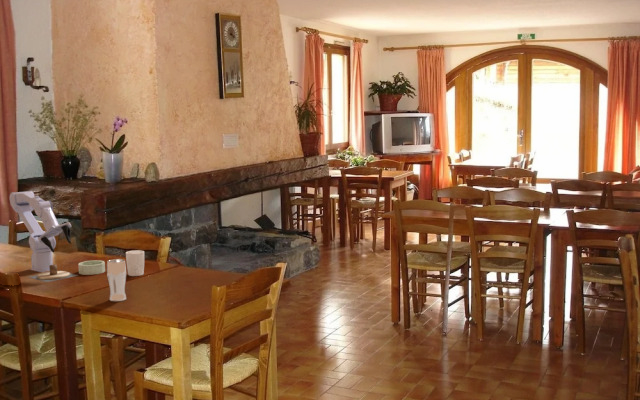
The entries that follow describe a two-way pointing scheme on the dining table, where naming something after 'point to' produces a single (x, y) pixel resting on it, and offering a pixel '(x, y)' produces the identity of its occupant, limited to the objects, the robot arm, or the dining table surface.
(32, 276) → the mat
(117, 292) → the beer glass
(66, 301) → the dining table surface
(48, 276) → the lid
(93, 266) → the bowl
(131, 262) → the white cup
